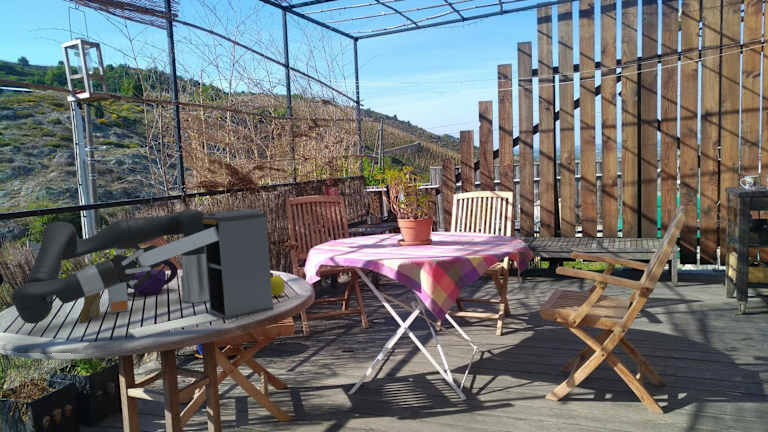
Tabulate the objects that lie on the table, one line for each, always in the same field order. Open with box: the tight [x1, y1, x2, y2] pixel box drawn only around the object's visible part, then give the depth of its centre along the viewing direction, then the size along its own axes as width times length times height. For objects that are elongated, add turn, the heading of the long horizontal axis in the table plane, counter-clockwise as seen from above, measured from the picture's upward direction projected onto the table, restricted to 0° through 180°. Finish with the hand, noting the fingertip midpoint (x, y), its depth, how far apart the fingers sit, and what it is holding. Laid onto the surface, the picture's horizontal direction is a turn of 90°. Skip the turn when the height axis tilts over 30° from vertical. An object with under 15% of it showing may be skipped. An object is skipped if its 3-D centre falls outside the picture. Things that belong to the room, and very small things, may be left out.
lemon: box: [271, 274, 285, 298], centre depth 196 cm, size 6×6×8 cm
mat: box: [127, 312, 219, 339], centre depth 166 cm, size 24×9×1 cm, turn 129°
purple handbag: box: [126, 241, 179, 297], centre depth 213 cm, size 22×21×25 cm
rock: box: [78, 292, 101, 323], centre depth 180 cm, size 10×8×10 cm
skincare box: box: [107, 282, 130, 314], centre depth 188 cm, size 6×4×12 cm
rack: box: [202, 208, 274, 320], centre depth 178 cm, size 17×14×33 cm
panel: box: [134, 227, 220, 268], centre depth 158 cm, size 24×4×2 cm
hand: (159, 254), depth 159 cm, fingers closed on panel, 4 cm apart
